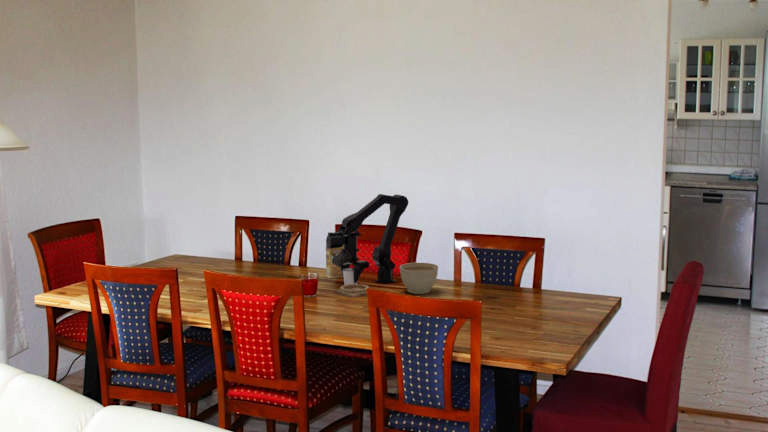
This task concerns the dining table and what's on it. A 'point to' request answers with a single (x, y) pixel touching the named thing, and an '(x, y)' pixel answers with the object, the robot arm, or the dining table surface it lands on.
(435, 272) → the planter bowl
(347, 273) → the white cup
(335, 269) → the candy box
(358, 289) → the saucer
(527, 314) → the dining table surface
